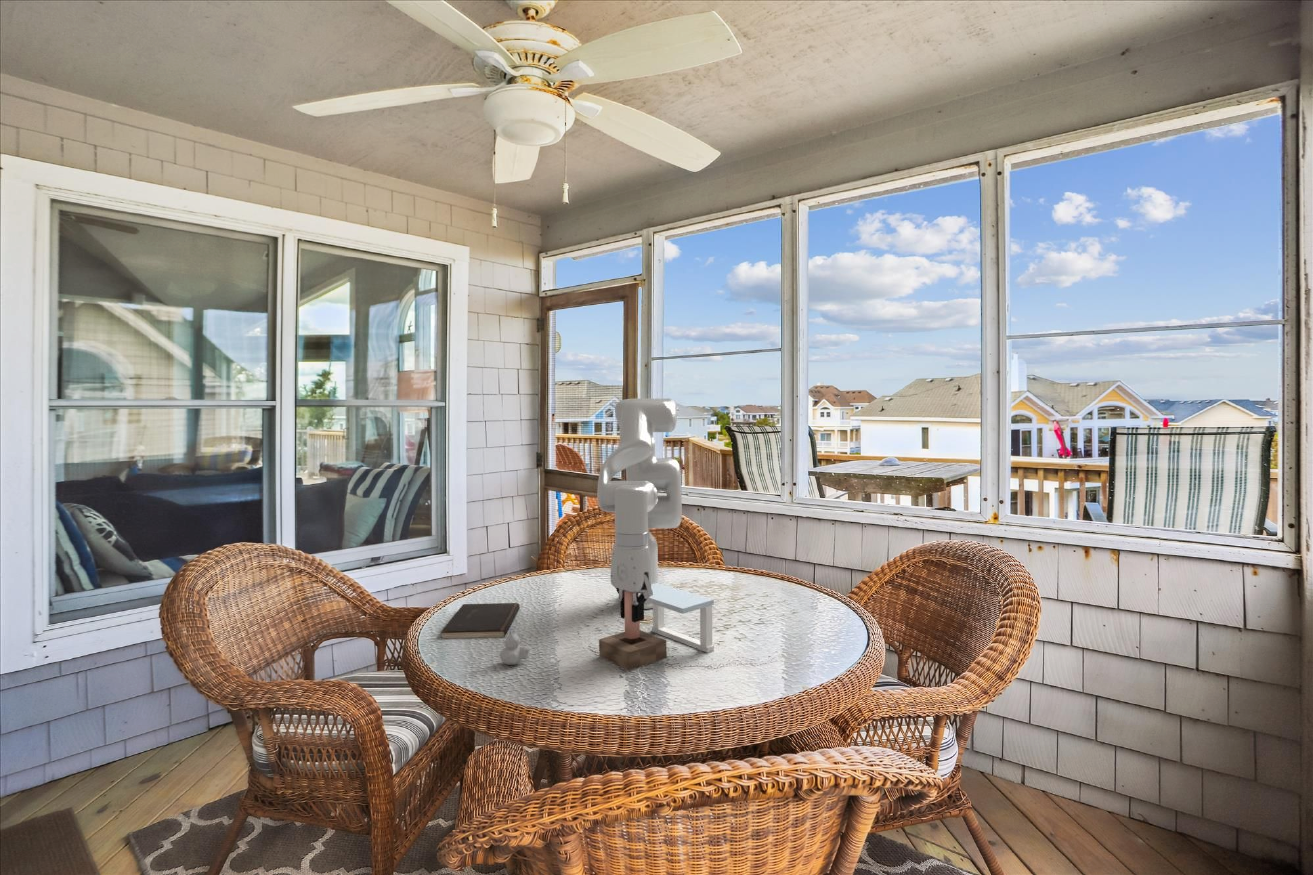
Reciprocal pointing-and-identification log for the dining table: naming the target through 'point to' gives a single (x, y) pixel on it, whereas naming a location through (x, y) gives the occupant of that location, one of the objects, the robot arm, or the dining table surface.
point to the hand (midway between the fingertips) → (632, 617)
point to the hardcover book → (481, 620)
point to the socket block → (632, 650)
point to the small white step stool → (682, 604)
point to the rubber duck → (513, 650)
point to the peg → (630, 618)
